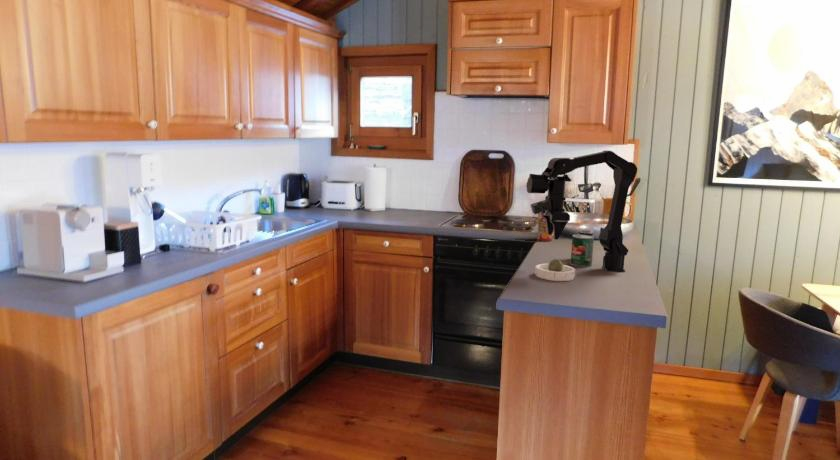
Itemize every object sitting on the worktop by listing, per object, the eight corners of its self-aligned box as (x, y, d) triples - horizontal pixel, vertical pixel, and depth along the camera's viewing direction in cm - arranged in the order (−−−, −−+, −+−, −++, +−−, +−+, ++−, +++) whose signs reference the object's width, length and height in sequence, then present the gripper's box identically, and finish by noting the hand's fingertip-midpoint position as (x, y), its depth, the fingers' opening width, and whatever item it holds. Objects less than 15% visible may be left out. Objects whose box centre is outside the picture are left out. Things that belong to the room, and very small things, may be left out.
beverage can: (579, 257, 233) (582, 227, 231) (593, 259, 229) (595, 229, 227) (573, 259, 229) (576, 229, 227) (587, 261, 225) (590, 231, 223)
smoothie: (535, 241, 265) (538, 197, 262) (536, 238, 273) (539, 196, 270) (554, 242, 263) (557, 198, 260) (554, 239, 271) (557, 197, 268)
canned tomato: (594, 264, 220) (596, 236, 219) (588, 268, 214) (591, 238, 212) (573, 261, 224) (575, 233, 222) (567, 265, 218) (569, 236, 216)
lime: (562, 275, 196) (563, 261, 195) (547, 274, 197) (548, 260, 196) (562, 272, 200) (563, 258, 200) (547, 271, 201) (548, 257, 201)
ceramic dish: (568, 272, 205) (568, 264, 205) (578, 281, 193) (579, 272, 192) (532, 271, 205) (532, 263, 205) (540, 280, 192) (540, 271, 192)
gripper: (528, 190, 213) (525, 232, 216) (539, 195, 195) (536, 241, 197) (558, 191, 214) (555, 232, 216) (572, 196, 195) (568, 242, 198)
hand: (552, 237), depth 207 cm, fingers open, 9 cm apart
